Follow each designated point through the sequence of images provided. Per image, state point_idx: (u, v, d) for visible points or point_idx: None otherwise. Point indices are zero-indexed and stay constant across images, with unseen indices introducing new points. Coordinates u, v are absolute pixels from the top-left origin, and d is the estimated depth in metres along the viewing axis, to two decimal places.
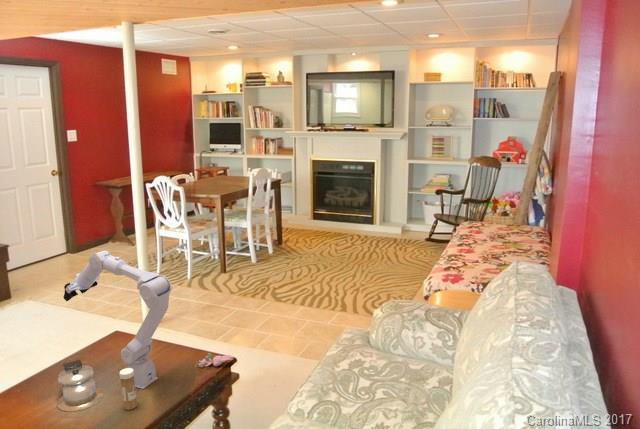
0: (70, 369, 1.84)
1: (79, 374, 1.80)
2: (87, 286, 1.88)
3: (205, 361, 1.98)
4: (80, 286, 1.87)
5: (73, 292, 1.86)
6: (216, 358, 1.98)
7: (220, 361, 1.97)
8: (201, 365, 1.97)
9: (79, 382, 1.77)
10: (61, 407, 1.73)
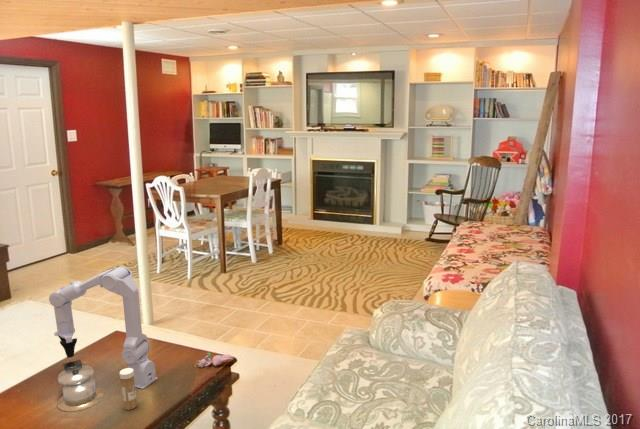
0: (70, 369, 1.84)
1: (79, 374, 1.80)
2: (73, 328, 1.91)
3: (205, 361, 1.98)
4: (70, 332, 1.89)
5: (72, 340, 1.88)
6: (216, 358, 1.98)
7: (220, 361, 1.98)
8: (201, 365, 1.97)
9: (79, 382, 1.77)
10: (61, 407, 1.73)
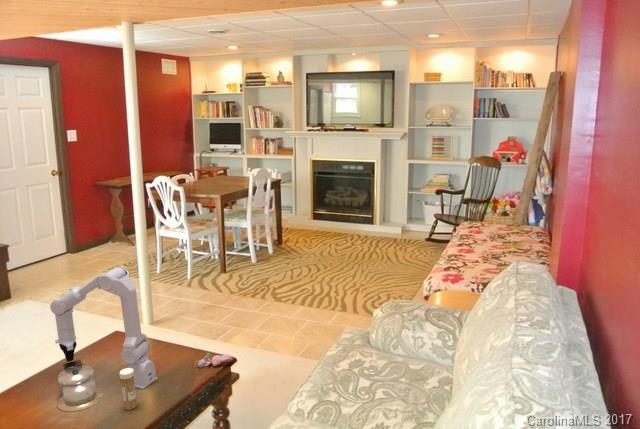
0: (70, 369, 1.84)
1: (79, 374, 1.80)
2: (74, 335, 1.92)
3: (204, 361, 1.98)
4: (71, 340, 1.90)
5: None
6: (215, 358, 1.98)
7: (219, 361, 1.97)
8: (200, 365, 1.97)
9: (79, 382, 1.77)
10: (61, 407, 1.73)
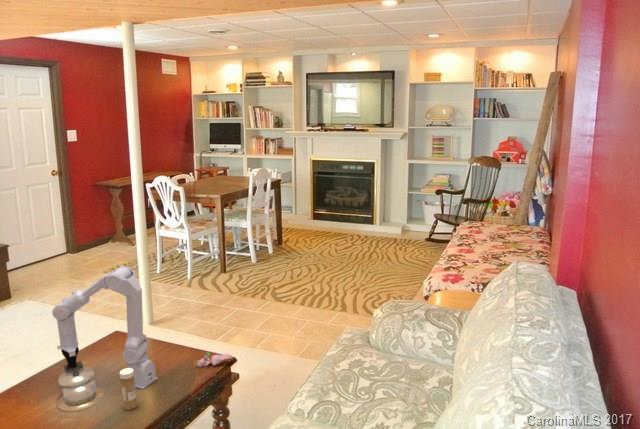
0: (71, 371, 1.83)
1: (80, 376, 1.79)
2: (77, 341, 1.88)
3: (204, 361, 1.98)
4: (73, 346, 1.86)
5: None
6: (215, 357, 1.98)
7: (219, 360, 1.98)
8: (200, 365, 1.97)
9: (80, 384, 1.76)
10: (61, 407, 1.73)
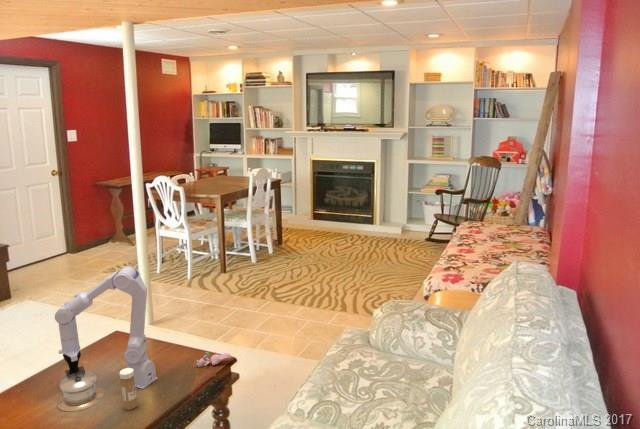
0: (72, 376, 1.79)
1: (82, 381, 1.75)
2: None
3: (203, 360, 1.98)
4: (75, 350, 1.82)
5: None
6: (214, 357, 1.99)
7: (218, 359, 1.98)
8: (199, 365, 1.98)
9: (82, 389, 1.72)
10: (61, 407, 1.73)
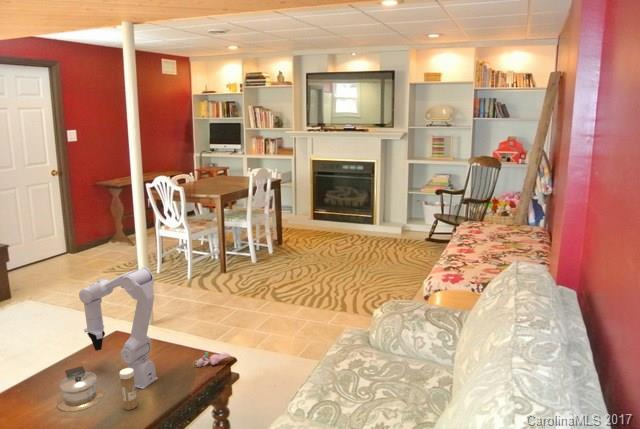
0: (72, 376, 1.79)
1: (82, 381, 1.75)
2: (103, 325, 1.93)
3: (202, 360, 1.99)
4: (100, 329, 1.91)
5: None
6: (213, 357, 1.99)
7: (218, 359, 1.98)
8: (198, 365, 1.98)
9: (82, 389, 1.72)
10: (61, 407, 1.73)
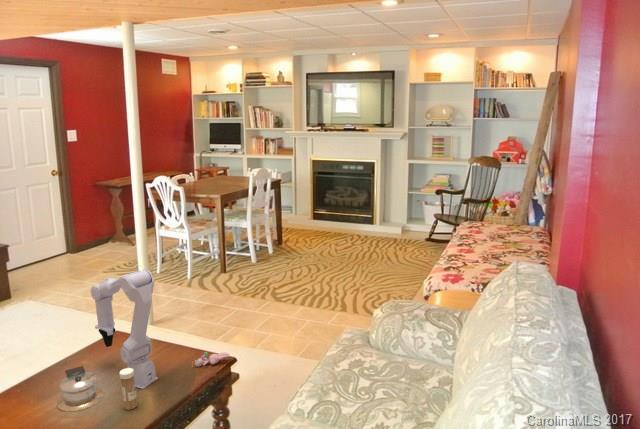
0: (72, 376, 1.79)
1: (82, 381, 1.75)
2: (113, 321, 1.96)
3: (201, 360, 1.99)
4: (110, 325, 1.94)
5: None
6: (213, 356, 1.99)
7: (217, 359, 1.99)
8: (198, 364, 1.98)
9: (82, 389, 1.72)
10: (61, 407, 1.73)
